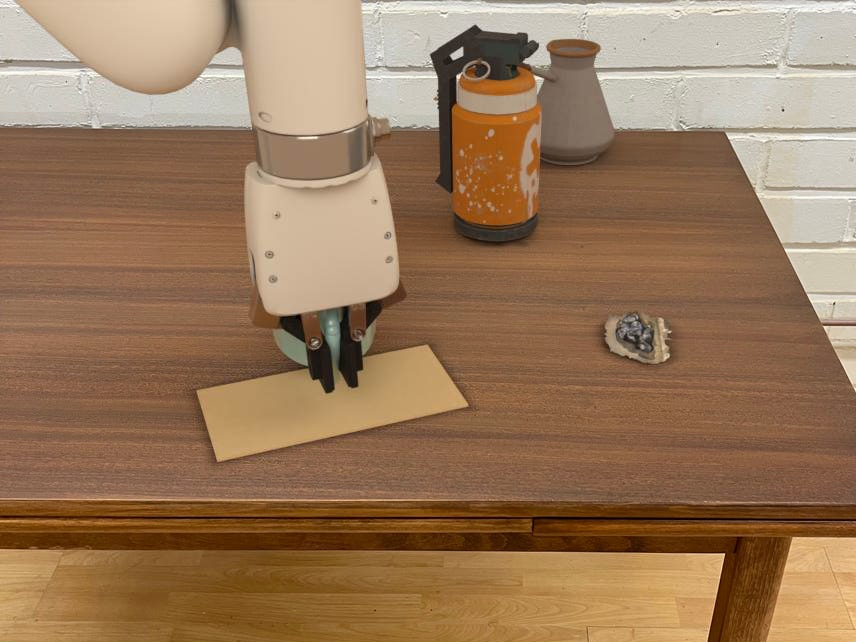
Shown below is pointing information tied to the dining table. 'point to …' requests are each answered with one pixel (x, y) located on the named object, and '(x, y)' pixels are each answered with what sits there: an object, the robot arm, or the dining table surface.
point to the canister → (489, 133)
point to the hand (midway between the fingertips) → (337, 380)
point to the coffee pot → (572, 104)
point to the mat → (325, 403)
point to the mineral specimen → (638, 336)
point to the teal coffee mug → (332, 335)
